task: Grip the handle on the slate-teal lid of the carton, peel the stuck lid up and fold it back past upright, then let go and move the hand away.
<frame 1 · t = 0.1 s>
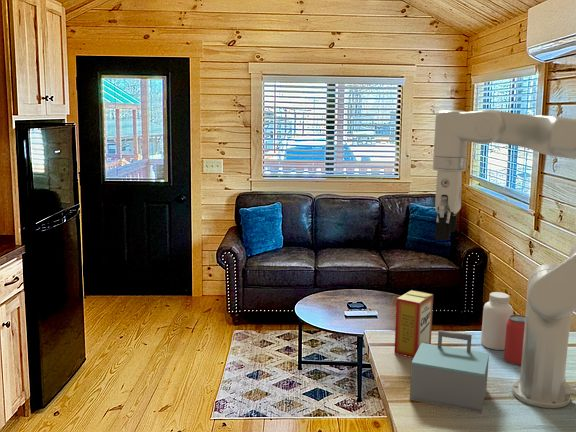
hand: (445, 235, 145), 37 cm above the table, tool pointing down, fingers open, 9 cm apart
pill bottle: (495, 345, 173), on the table
beer can: (516, 361, 162), on the table
baking soda box: (412, 350, 169), on the table
carton: (448, 394, 143), on the table
lid: (451, 350, 141), point 11 cm above the table, hinge at 0.0°
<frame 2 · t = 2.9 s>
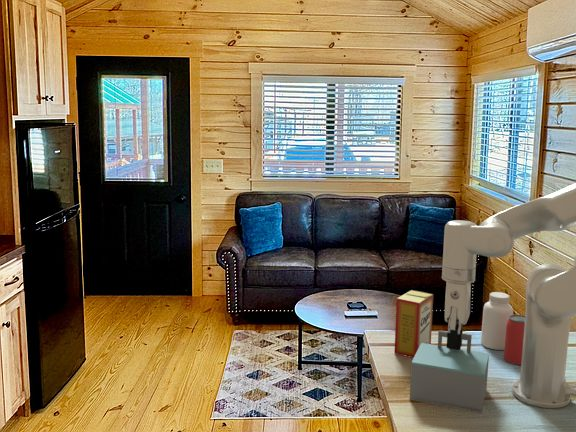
hand: (454, 346, 146), 10 cm above the table, tool pointing down, fingers closed
lid: (451, 350, 141), point 11 cm above the table, hinge at 0.0°, touching gripper
everything else where it was.
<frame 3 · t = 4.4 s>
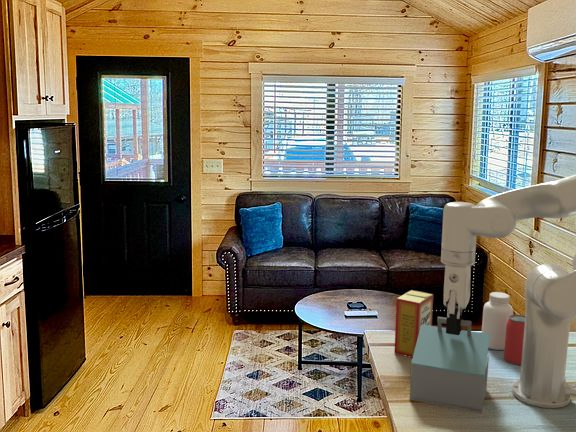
hand: (453, 331, 142), 15 cm above the table, tool pointing down, fingers closed
lid: (451, 342, 139), point 14 cm above the table, hinge at 25.7°, touching gripper
everything else where it was.
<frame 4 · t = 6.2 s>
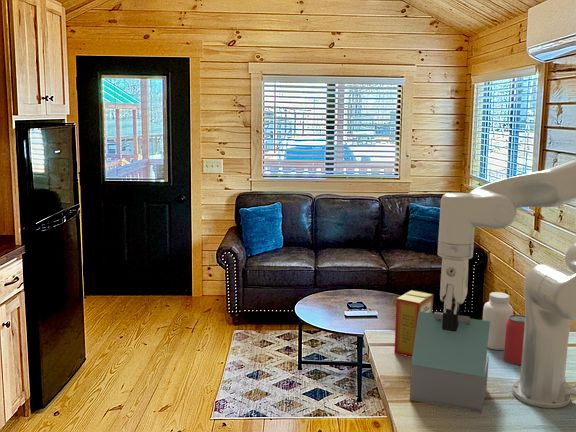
hand: (450, 328, 137), 18 cm above the table, tool pointing down, fingers closed
lid: (449, 341, 136), point 15 cm above the table, hinge at 56.9°, touching gripper
everything else where it was.
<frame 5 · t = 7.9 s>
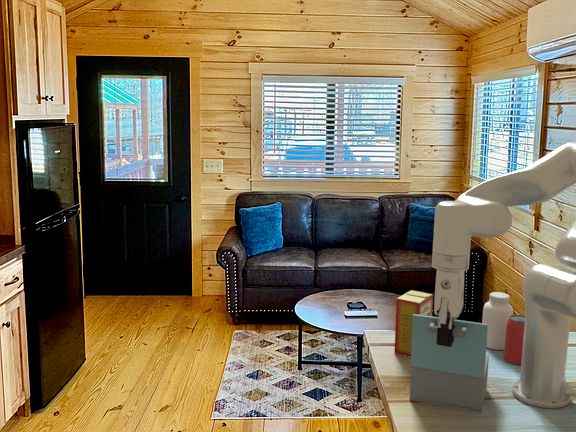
hand: (445, 343, 130), 17 cm above the table, tool pointing down, fingers closed
lid: (446, 349, 132), point 15 cm above the table, hinge at 92.4°, touching gripper
everything else where it was.
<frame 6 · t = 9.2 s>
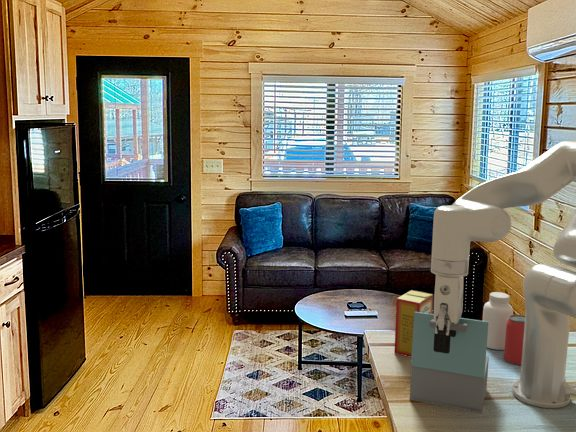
hand: (444, 343, 129), 17 cm above the table, tool pointing down, fingers open, 9 cm apart
lid: (447, 346, 133), point 15 cm above the table, hinge at 83.9°, touching gripper
everything else where it was.
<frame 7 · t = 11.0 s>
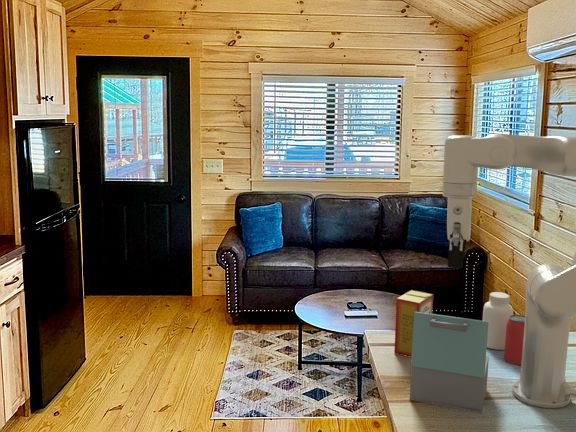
hand: (456, 262, 142), 31 cm above the table, tool pointing down, fingers open, 9 cm apart
lid: (447, 346, 133), point 15 cm above the table, hinge at 83.6°
everything else where it was.
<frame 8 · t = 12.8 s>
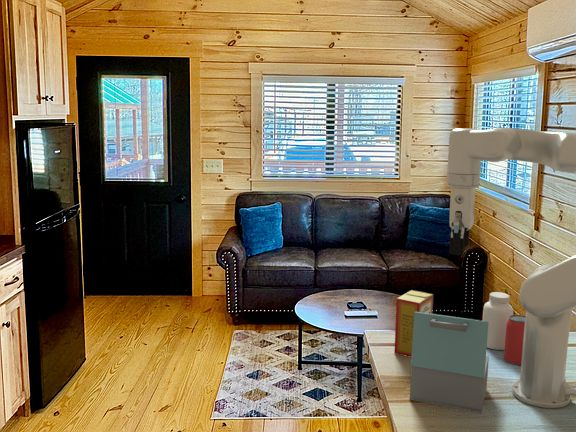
hand: (458, 250, 148), 32 cm above the table, tool pointing down, fingers open, 9 cm apart
nothing on the table moved.
at the end: lid at +84° (first picture: +0°); the gripper is holding nothing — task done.
